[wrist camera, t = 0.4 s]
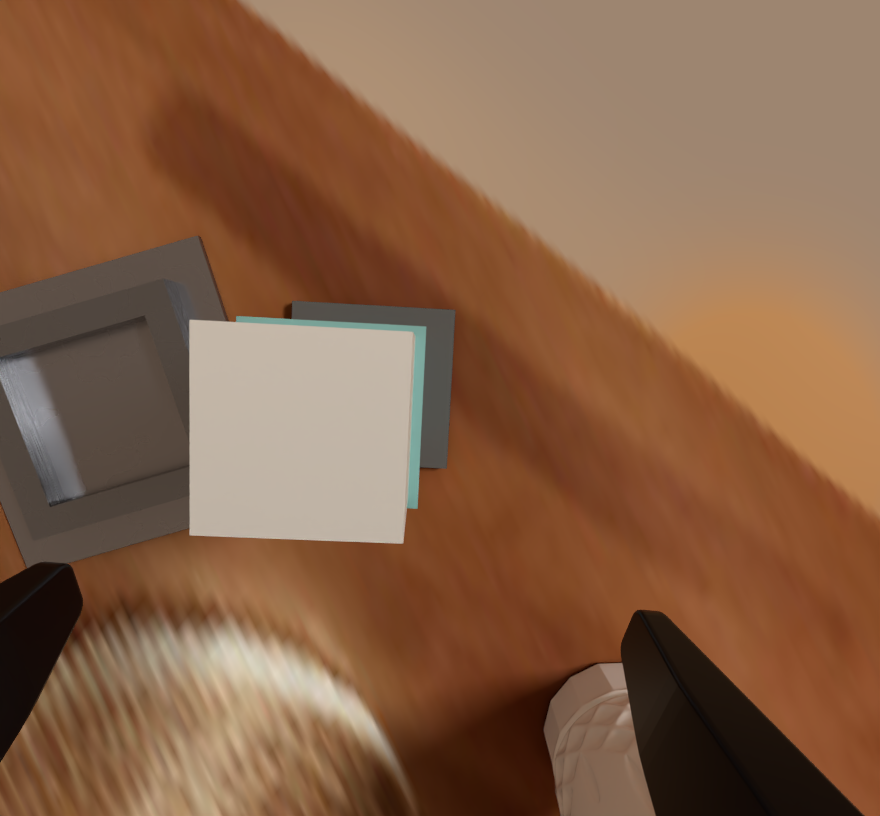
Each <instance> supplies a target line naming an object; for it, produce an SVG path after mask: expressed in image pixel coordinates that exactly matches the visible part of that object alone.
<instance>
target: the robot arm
mask: <svg viewBox="0 0 880 816" xmlns="http://www.w3.org/2000/svg"><path fill="white" fill-rule="evenodd" d="M82 606H83V598H82V595H81V592H80V589H79V586H78V583H77V580H76V577H75V574H74V571H73V568H72V567H71V566H70V565H69V564H66V563H57V562H39V563H36V564H34V565H32V566H30V567H29V568H27V569H25V570H23V571H21V572H20V573H18V574H16V575H14V576H12V577H11V578H9V579H7V580H5V581H3V582H2V583H0V762H1V761H2V759H3V757H4V756H5V754H6V752H7V751H8V749H9V748H10V746H11V744H12V743H13V741H14V740H15V738H16V736H17V735H18V733H19V732H20V730H21V728H22V726H23V725H24V723H25V721H26V720H27V718H28V716H29V715H30V713H31V711H32V709H33V707H34V705H35V704H36V702H37V700H38V698H39V696H40V694H41V692H42V690H43V688H44V686H45V684H46V682H47V680H48V678H49V676H50V674H51V672H52V670H53V668H54V666H55V664H56V662H57V660H58V658H59V656H60V654H61V652H62V650H63V648H64V646H65V644H66V642H67V640H68V638H69V636H70V634H71V632H72V630H73V628H74V626H75V624H76V622H77V620H78V618H79V616H80V614H81V611H82ZM621 659H622V664H623V670H624V675H625V681H626V687H627V692H628V698H629V703H630V709H631V714H632V720H633V726H634V731H635V737H636V742H637V747H638V752H639V757H640V761H641V764H642V768H643V772H644V776H645V779H646V783H647V787H648V790H649V794H650V797H651V801H652V804H653V808H654V812H655V815H656V816H864V815H863V814H862V813H861V812H860V811H859V810H858V809H857V808H856V807H855V806H854V805H853V804H852V803H851V802H850V801H849V800H848V799H847V798H846V797H845V796H844V795H843V794H842V793H841V792H840V791H839V790H838V789H837V788H836V787H835V785H834V784H833V783H832V782H831V781H830V780H829V779H828V778H827V777H826V776H825V775H824V774H823V773H822V772H821V771H820V770H819V769H818V768H817V767H816V766H815V765H814V764H813V763H812V762H811V761H810V760H809V759H808V758H807V757H806V756H805V755H804V754H803V753H802V752H801V751H800V750H799V749H798V748H797V747H796V746H795V745H794V744H793V743H792V742H791V741H790V740H789V739H788V738H787V737H786V736H785V735H784V734H783V733H782V732H781V731H780V730H779V729H778V728H777V727H776V726H775V725H774V724H773V723H772V722H771V721H770V720H769V719H768V718H767V717H766V716H765V715H764V714H763V713H762V712H761V711H760V710H759V709H758V708H757V707H756V706H755V705H754V704H753V703H752V702H751V701H750V700H749V699H748V698H747V697H746V696H745V695H744V694H743V693H742V692H741V691H740V690H739V689H738V688H737V687H736V686H735V685H734V683H733V682H732V681H731V680H730V679H729V678H728V677H727V676H726V675H725V674H724V673H723V672H722V671H721V670H720V669H719V668H718V667H717V666H716V665H715V664H714V663H713V662H712V661H711V660H710V659H709V658H708V657H707V656H706V655H705V654H704V653H703V652H702V651H701V650H700V649H699V648H698V647H697V646H696V645H695V644H694V643H693V642H692V641H691V640H690V639H689V638H688V637H687V636H686V635H685V634H684V633H683V632H682V631H681V630H680V629H679V628H678V627H677V626H676V625H675V624H674V623H673V622H672V621H671V620H670V619H669V618H668V617H667V616H666V615H665V614H663V613H662V612H659V611H650V610H637V611H636V612H635V613H634V614H633V616H632V618H631V621H630V623H629V625H628V628H627V630H626V632H625V635H624V637H623V640H622V643H621Z"/></svg>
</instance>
